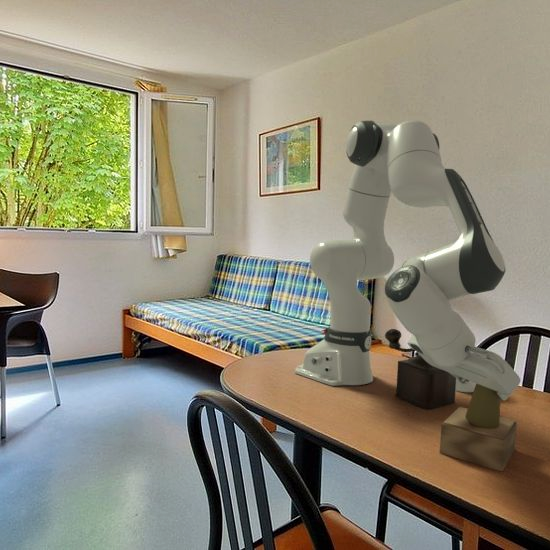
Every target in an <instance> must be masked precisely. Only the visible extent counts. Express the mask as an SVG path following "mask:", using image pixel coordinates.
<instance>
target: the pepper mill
mask: <svg viewBox="0 0 550 550" xmlns="http://www.w3.org/2000/svg"><path fill="white" fill-rule="evenodd" d="M384 338H385V340H387V341H388V342H389V344H388V348H389V349H392V350H396V351H399V352H403V353H413V352H415V356H411V357H409V358H408V359H402V360H398V362H397V371H396V373H397V374H396V375H397V377H396V388H395V389H396V390H395V391H396V392H395V397H397V398H398V399H400V400H402V401H404V402H406V403H408V404H411V405H412V406H415V407H418V408H420V409H424V410H434V408H435V409H438V408H442V407H445V405H446V406H448V405H452V404H455V402H456V390H455V388H456V378H455V377H454V376H453V375H451V374H450V373H449V372H447V371H444V370H441V369H439V368H436V367H434V366H432V365H430V364H429V363H427V362H426V361H425V360H424V359H423V358H422V357H421V356H420V355H419V354H418V352H417V351H415V350H413V349H412V348H411V347H410V348H403V347H401V346H402V345H401V344H400V340H401V338H402V332H401V331H400V330H399V329H396V328H391V329H388V330H387V331H386V332H385V334H384Z"/></svg>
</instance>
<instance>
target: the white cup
mask: <svg viewBox="0 0 550 550" xmlns="http://www.w3.org/2000/svg"><path fill="white" fill-rule="evenodd" d="M475 386H476V383H474V382H472V381H469V382H468V383H467V384H463V383H460V382H459V381H458V380H457V379H456V388H455V392H459V393H460V392H461V393H473V392H474V389H475Z"/></svg>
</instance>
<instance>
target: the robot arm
mask: <svg viewBox="0 0 550 550" xmlns="http://www.w3.org/2000/svg"><path fill="white" fill-rule="evenodd" d="M345 144H346V149H345V150H346V157H347V158H348V160H349V161H350V163H351V164H354V168H353V171H352V174H351V177H350V180H349V184H348V188H347V194H346V199H345V202H344V206H343V207H344V208H343V211H342V214H343V215H342V216H343V219H344V221H345V222H346V223H347V224H348V225H349V226H350V227H351V228H352V229H353V232H352V233H353V234H352V236H353V237H352V239H351V240H350V239H331V240H326V241H322V242H319V243H317V244H315V245H314V247H313V249H312V250H311V252H310V256H309V257H310V258H309V264H310V269H311V270H312V272H313V274H314V275H315V276H316V278H318V279H320V281H321V282H322V283H323V285H324V287H325V289H326V290H327V294H328V298H329V306H330V308H329V309H330V314H329V315H330V317H329V318H330V320H329V321H330V322H329V326H328V327H326V328H325V329H323V330H321V335H324V338H323V339H321V340H320V341H319V342H317V343H316V344H315V345H313V346H312V347H310V348H308V350H307V351H306V352H305V354H304V357H303V362H302V364H300V365H297V366H296V367H295V369H294V374H297V375H298V376H299V375H300V376H302V377H306V378H309V379H310V380H313V381H318V382H319V383H323V384H326V385H328V386H333V387H335V386H361V385H363V386H364V385H366V384H370V383H372V382H373V381H374V375H373V373H372V367H371V356H370V350H371V345H372V330H371V328H370V327H371V311H372V310H371V309H372V306H371V305H372V304H371V302H370V300H369V299H368V297H367V296H365V295H364V294H362V293H361V292H360V290H359V288H358V287H359V286H358V281H357V280H373V279H379V278H381V277H385V276H388V275H389V274H390V273H391V271H392V270H393V269H394V268H393V267H394V265H395V255H394V254H395V253H394V251H393V249H392V248H391V247H390V245H389V244H388V242H387V240H386V237H385V219H386V215H387V210H388V207H389V201H390V197H391V193H392V194H393V196H394V197H395V199H397V200H398V201H400V202H401V203H402V204H404V205H406V206H410V207H413V208H423V209H424V208H431V207H434V208H435V207H448V208H449V210H450V213H451V215H452V218H453V219H454V223H455V225H456V227H457V229H458V230H457V231H458V232H459V237H458V238H457V239H456V241H454V242H452V243H450V244H447V245H444V246H441V247H439V248H436V249H434V250H431V251H427V252H425V253H421V254H419V255H416V256H414V257H412V258H409V259H408V260H406V261H404V262H403V264H402V265H401V267H399V268H397V269H396V270H395V271H393V272H392V274H390V276H389V277H388V278H387V280H386V282H385V285H384V290H383V291H384V296H385V298H386V301H387V303H388V305H389V307H390V308H391V310H392V312H393V314H394V315H395V317H396V318H397V319H398V321H399V322H400V323H401V325H402V327H404V329H406V331H407V332H409V334H411V337H410V338H409V340H408V341H407V344H408V346H409V347H410V348H412V349H413V350H415V351H414V352H418V354H419V355H420V356H421V357H422V358H423V359H424V360H425V361H426V362H427V363H429V364H430V365H432V366H434V367H436V368H439V369H441V370H444V371H447V372H449V373H450V374H451V375H453V376H454V377H455V378H456V379H457V380H458V381H459V382H460V383H463V384H467V383H468V382H469V381H472V382H474V383H477V384H479V385H482V386H484V387H487V388H489V389H492V390H495V392H494V394H495V395H496V396H497V398H499V399H500V400H502V401H504V402H505V401H507V400H508V398H509V397H510V396H511V395H513V393H514V392H515V391H516V389H517V388H518V387H519V385H520V383H521V378H520V376H519V375H518V374H517V372H516V371H515V370H514V368H512V366H511V365H510V364H509V363H508V361H506V359H504V358H503V357H502V356H501V355H499V354H497V353H496V352H493V351H490V350H487V349H484V348H480V347H477V346H476V336H475V334H474V332H473V331H472V329H470V328H469V326H468V324H467V323H466V322H465V320H464V319H463V318H462V316H461V315H460V314H459V313H458V312H456V311H455V310H454V309H453V307H452V304H451V300H452V301H453V300H456V299H458V298H459V299H460V298H462V297H464V296H465V297H466V296H469V295H477V294H481V293H487V292H490V291H494V290H495V289H496V288H497V286H498V285H499V284H500V282H501V281H502V280H503V278H504V276H505V273H506V271H507V270H506V266H505V260H504V257H503V255H502V253H501V250H499V248H498V246H497V244H496V243H495V241H494V239H493V238H492V235H491V234H490V232H489V229H488V228H487V226H486V223H485V221H484V218H483V216H482V214H481V212H480V210H479V208H478V206H477V203H476V201H475V199H474V197H473V195H472V193H471V192H470V189H469V188H468V185H467V183H466V182H465V180H464V179H463V177H462V176H461V175H460V174H459V172H458V171H456V170H455V169H453V168H445V167H444V166H443V161H442V156H441V153H440V141H439V138H438V136H437V134H435V133H434V132H433V131H432V130H431V128H430V126H429V125H428V124H427V123H425V122H424V121H420V120H418V119H411V120H406V121H403V122H400V123H391V122H378V121H377V122H375V121H374V120H361V121H357V122H356V123H355V124H354V125H353V126H352V127H351V128H350V131H349V133H348V136H347V139H346V143H345Z"/></svg>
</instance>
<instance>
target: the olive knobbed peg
mask: <svg viewBox="0 0 550 550" xmlns="http://www.w3.org/2000/svg"><path fill="white" fill-rule="evenodd" d="M494 392H495V390H492V389H489V388H487V387H484V386H482V385H479V384H477V383H476V386H475V389H474V392H472V395H471V397H470V401H469V405H468V407H467V409H468V410H467V412H466V415H465V417H466V419H467V420H468V421H469V422H471V423H472V424H474V425H476V426H479V427H483V428H490V429H493V428H497V427H499V423H500V416H501V414H500V413H501V399H499V398H497V396H496V395H495V394H494Z"/></svg>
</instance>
